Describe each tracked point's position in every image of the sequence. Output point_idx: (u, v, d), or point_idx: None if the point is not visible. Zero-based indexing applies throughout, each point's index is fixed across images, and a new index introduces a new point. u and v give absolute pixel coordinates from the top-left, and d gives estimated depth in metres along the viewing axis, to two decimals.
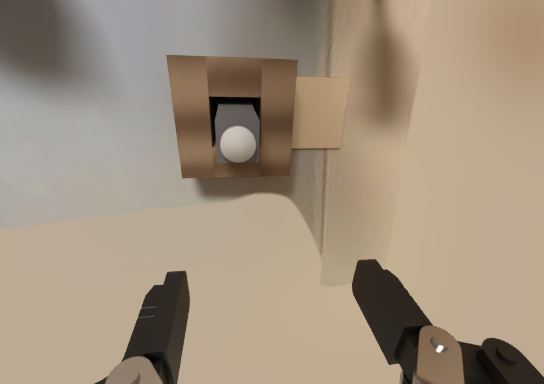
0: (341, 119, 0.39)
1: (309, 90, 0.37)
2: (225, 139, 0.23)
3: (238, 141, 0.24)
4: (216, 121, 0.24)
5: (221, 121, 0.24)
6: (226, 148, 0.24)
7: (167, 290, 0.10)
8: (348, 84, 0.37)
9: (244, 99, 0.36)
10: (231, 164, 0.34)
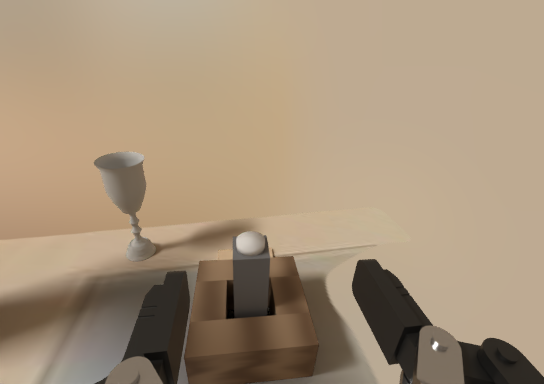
0: None
1: None
2: (245, 246, 0.28)
3: (247, 239, 0.29)
4: (233, 259, 0.28)
5: (233, 256, 0.29)
6: (253, 245, 0.29)
7: (167, 290, 0.10)
8: (222, 250, 0.50)
9: None
10: (291, 298, 0.34)
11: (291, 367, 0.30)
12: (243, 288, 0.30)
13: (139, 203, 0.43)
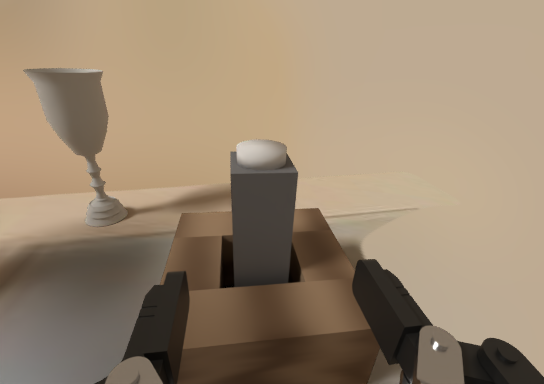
0: None
1: None
2: (254, 152, 0.16)
3: (255, 146, 0.17)
4: (231, 173, 0.15)
5: (231, 170, 0.16)
6: (267, 151, 0.16)
7: (167, 290, 0.10)
8: None
9: None
10: (325, 258, 0.21)
11: (335, 369, 0.17)
12: (248, 232, 0.17)
13: (97, 140, 0.30)
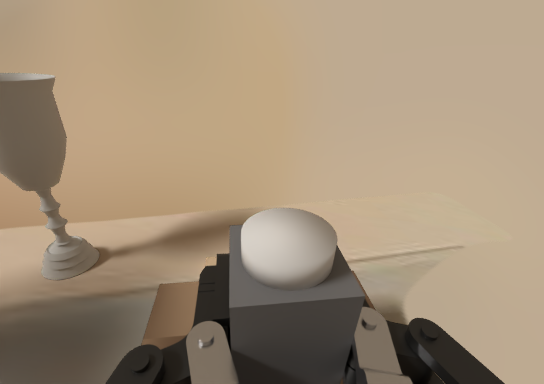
0: None
1: None
2: (276, 254, 0.08)
3: (277, 232, 0.09)
4: (231, 303, 0.07)
5: (231, 291, 0.08)
6: (303, 252, 0.08)
7: (221, 269, 0.11)
8: (213, 258, 0.29)
9: None
10: None
11: None
12: None
13: (50, 170, 0.22)
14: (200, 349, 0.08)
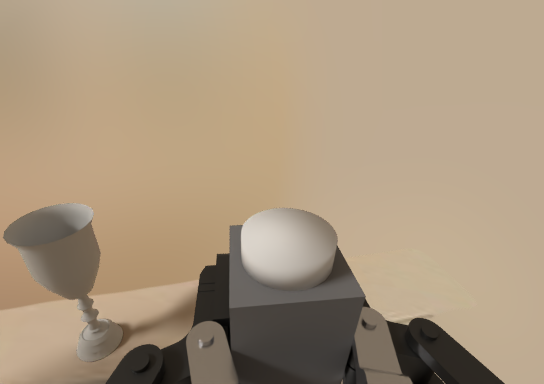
0: None
1: None
2: (277, 255, 0.08)
3: (277, 232, 0.09)
4: (231, 304, 0.07)
5: (231, 292, 0.08)
6: (303, 252, 0.08)
7: (221, 269, 0.11)
8: None
9: None
10: None
11: None
12: None
13: (88, 284, 0.28)
14: (200, 349, 0.08)
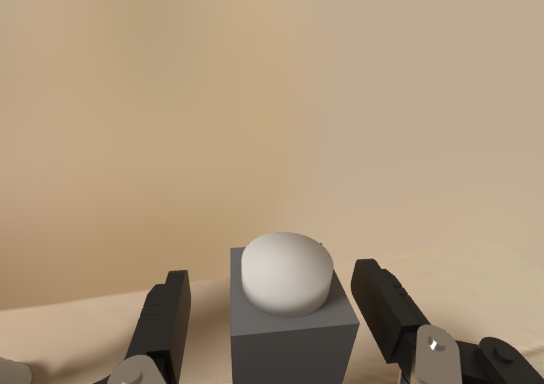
0: None
1: None
2: (275, 284, 0.08)
3: (276, 259, 0.09)
4: (233, 331, 0.08)
5: (233, 319, 0.08)
6: (301, 281, 0.08)
7: (169, 289, 0.10)
8: None
9: None
10: None
11: None
12: None
13: None
14: None
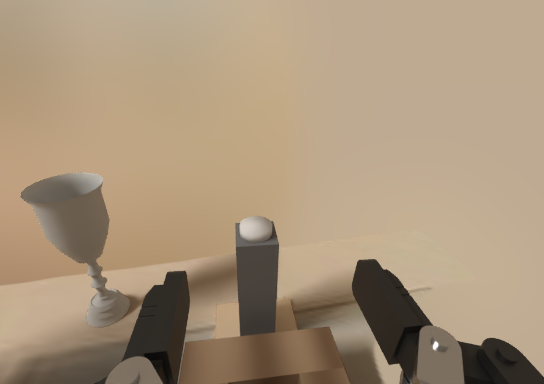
0: None
1: None
2: (250, 231, 0.25)
3: (251, 224, 0.26)
4: (236, 246, 0.25)
5: (236, 243, 0.25)
6: (259, 230, 0.25)
7: (167, 290, 0.10)
8: (222, 304, 0.36)
9: None
10: None
11: None
12: (248, 280, 0.26)
13: (98, 247, 0.29)
14: None
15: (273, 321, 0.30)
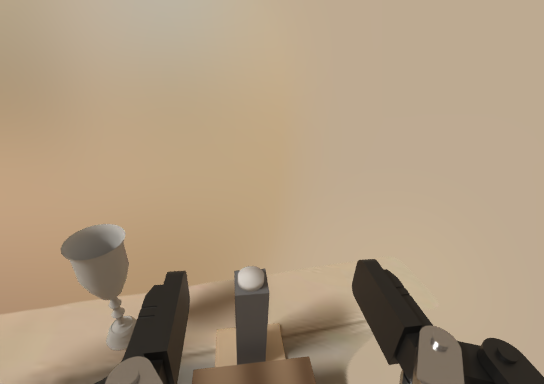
0: None
1: (227, 365, 0.37)
2: (246, 282, 0.31)
3: (247, 275, 0.32)
4: (235, 294, 0.31)
5: (235, 291, 0.31)
6: (253, 281, 0.31)
7: (167, 290, 0.10)
8: (222, 330, 0.42)
9: None
10: None
11: None
12: (244, 319, 0.33)
13: (120, 287, 0.35)
14: None
15: (264, 349, 0.36)
